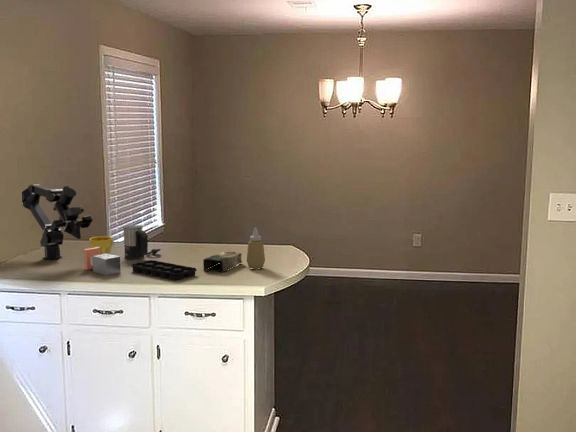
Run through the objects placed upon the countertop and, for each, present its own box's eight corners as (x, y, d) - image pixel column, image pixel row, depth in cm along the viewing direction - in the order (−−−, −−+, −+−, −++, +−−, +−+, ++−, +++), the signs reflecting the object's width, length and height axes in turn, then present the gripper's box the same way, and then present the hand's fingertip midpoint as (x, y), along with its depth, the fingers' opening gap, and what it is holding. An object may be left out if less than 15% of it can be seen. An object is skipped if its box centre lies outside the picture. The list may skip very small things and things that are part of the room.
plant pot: (107, 261, 311) (106, 240, 309) (86, 260, 313) (85, 239, 312) (117, 256, 321) (116, 236, 320) (97, 256, 323) (96, 235, 322)
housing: (93, 271, 291) (92, 256, 289) (107, 269, 296) (106, 253, 295) (106, 275, 284) (105, 259, 283) (120, 272, 289) (120, 256, 288)
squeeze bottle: (267, 267, 298) (267, 226, 296) (261, 271, 291) (260, 230, 288) (250, 266, 301) (250, 226, 298) (243, 269, 293) (243, 229, 291)
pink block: (84, 269, 295) (83, 249, 293) (98, 266, 300) (97, 247, 299) (98, 272, 288) (97, 252, 287) (112, 269, 293) (111, 250, 292)
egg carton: (147, 267, 301) (146, 258, 301) (204, 273, 289) (204, 265, 288) (121, 275, 286) (121, 267, 285) (181, 283, 273) (181, 273, 273)
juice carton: (224, 262, 310) (223, 249, 308) (243, 264, 306) (243, 251, 305) (202, 272, 291) (202, 258, 290) (222, 274, 288) (222, 260, 286)
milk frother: (119, 258, 317) (118, 227, 315) (139, 252, 332) (138, 222, 329) (145, 261, 312) (144, 229, 310) (164, 254, 326) (163, 224, 324)
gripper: (51, 202, 295) (67, 229, 289) (89, 198, 309) (104, 224, 303) (43, 218, 301) (58, 245, 296) (80, 213, 315) (95, 239, 310)
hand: (79, 238), depth 301 cm, fingers closed
